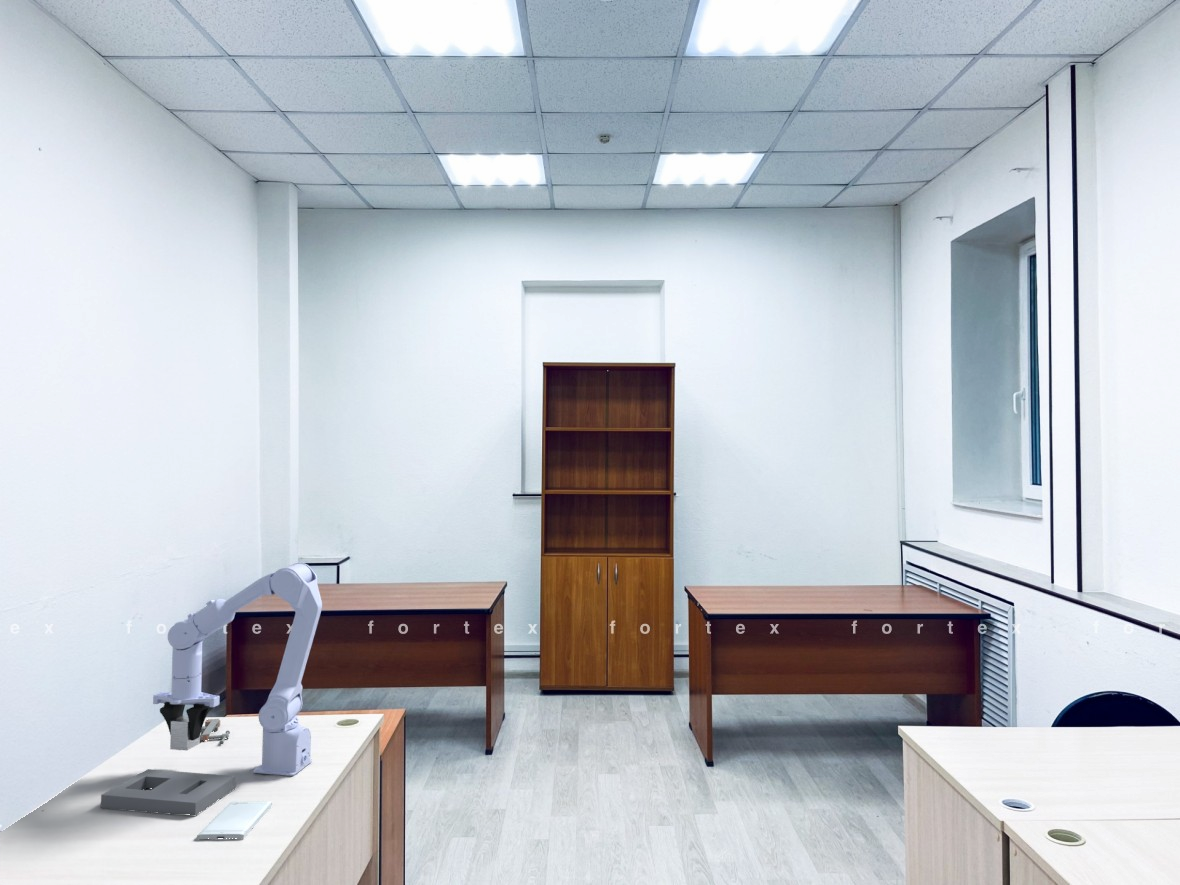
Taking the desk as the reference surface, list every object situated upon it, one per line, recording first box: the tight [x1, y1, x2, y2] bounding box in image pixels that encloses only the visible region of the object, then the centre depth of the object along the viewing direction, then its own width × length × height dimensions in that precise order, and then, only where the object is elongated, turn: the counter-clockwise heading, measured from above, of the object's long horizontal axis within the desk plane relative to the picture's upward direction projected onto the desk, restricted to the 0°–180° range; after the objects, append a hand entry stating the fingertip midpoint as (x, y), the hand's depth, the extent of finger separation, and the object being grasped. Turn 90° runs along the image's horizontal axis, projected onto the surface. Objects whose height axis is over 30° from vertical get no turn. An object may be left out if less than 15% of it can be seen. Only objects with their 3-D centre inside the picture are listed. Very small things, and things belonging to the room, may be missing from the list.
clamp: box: [200, 718, 231, 745], centre depth 176 cm, size 15×2×10 cm
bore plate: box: [100, 768, 237, 816], centre depth 143 cm, size 20×12×2 cm, turn 82°
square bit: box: [169, 714, 201, 751], centre depth 157 cm, size 4×4×6 cm
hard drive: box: [196, 800, 273, 840], centre depth 134 cm, size 2×8×12 cm
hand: (185, 738), depth 157 cm, fingers closed on square bit, 4 cm apart
